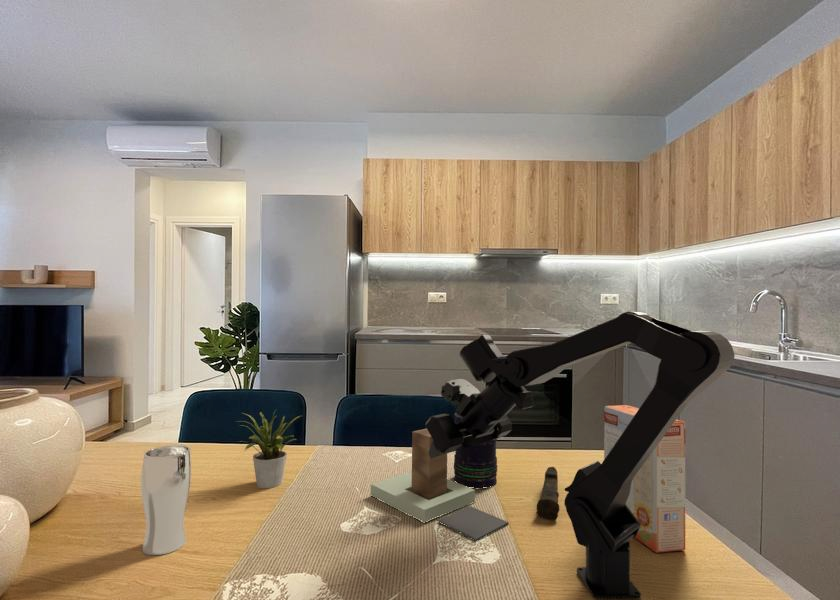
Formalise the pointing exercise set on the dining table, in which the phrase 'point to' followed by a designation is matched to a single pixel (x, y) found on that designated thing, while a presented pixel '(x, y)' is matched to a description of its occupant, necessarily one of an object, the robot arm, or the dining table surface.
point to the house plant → (269, 452)
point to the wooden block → (427, 467)
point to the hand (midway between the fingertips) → (447, 450)
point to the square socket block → (403, 499)
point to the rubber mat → (473, 522)
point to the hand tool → (549, 496)
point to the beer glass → (165, 497)
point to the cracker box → (654, 483)
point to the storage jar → (475, 463)
